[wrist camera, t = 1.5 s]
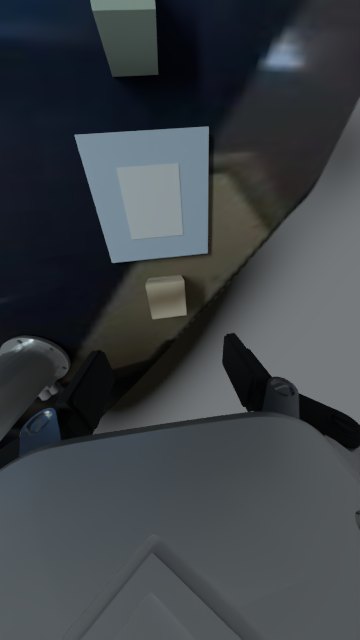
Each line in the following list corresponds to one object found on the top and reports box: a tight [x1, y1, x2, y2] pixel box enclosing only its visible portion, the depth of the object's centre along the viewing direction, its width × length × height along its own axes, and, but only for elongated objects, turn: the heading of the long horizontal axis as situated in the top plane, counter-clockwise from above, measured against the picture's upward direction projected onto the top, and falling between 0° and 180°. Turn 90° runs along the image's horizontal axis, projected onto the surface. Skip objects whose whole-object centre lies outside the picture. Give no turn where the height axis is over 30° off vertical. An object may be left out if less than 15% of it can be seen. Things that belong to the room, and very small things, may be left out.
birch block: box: [146, 275, 187, 319], centre depth 25 cm, size 6×6×5 cm
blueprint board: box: [74, 127, 209, 263], centre depth 20 cm, size 14×16×1 cm
